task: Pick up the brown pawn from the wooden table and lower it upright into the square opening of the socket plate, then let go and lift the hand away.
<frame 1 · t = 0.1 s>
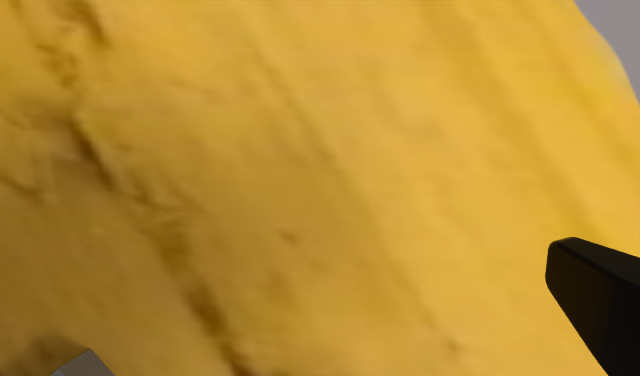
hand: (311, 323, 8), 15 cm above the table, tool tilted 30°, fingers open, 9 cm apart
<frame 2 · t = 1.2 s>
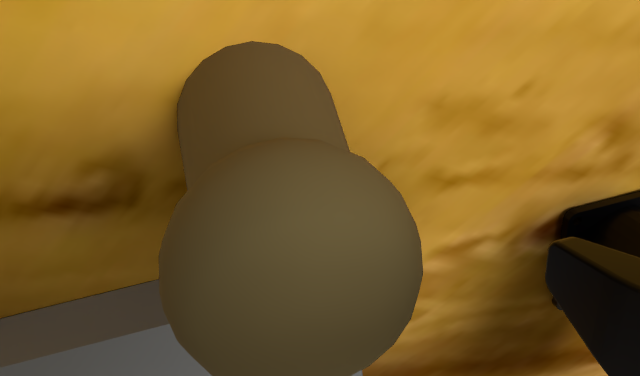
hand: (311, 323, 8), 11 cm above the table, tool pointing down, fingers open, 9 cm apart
brown pawn: (257, 121, 17), on the table
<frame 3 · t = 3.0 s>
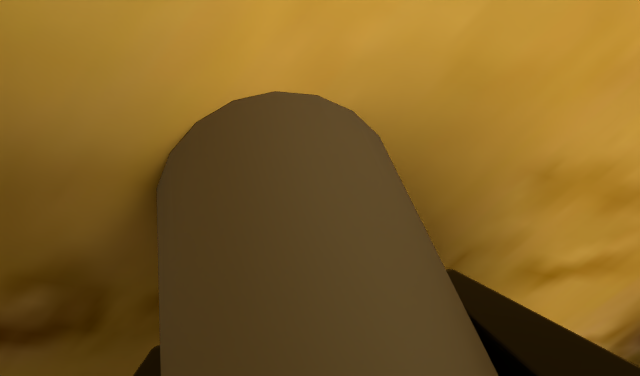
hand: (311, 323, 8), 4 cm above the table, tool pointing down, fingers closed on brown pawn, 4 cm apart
brown pawn: (281, 206, 11), on the table, touching gripper
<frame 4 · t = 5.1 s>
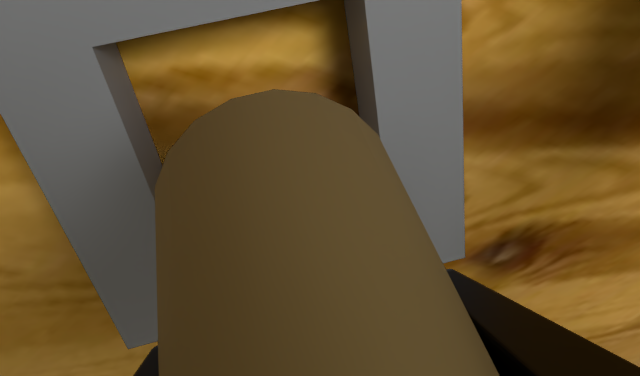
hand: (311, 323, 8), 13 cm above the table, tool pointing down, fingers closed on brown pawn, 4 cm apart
brown pawn: (279, 204, 11), point 9 cm above the table, touching gripper
socket plate: (257, 118, 19), on the table
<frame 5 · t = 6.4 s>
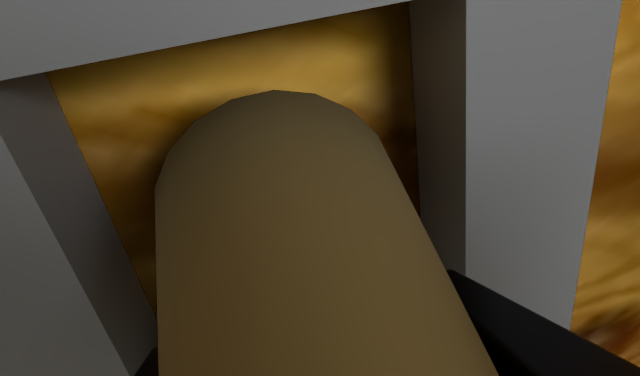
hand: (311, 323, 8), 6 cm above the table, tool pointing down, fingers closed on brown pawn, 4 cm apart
brown pawn: (279, 205, 11), point 2 cm above the table, touching gripper
socket plate: (269, 180, 13), on the table
when the fingers open (5 cm above the table, at t = 7.4 s): brown pawn stays where it is, resting in socket plate.
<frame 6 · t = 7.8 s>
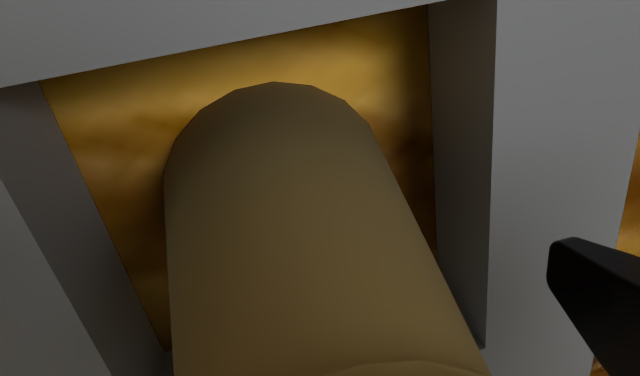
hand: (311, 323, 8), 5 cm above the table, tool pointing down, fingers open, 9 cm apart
brown pawn: (278, 189, 12), resting in socket plate
socket plate: (277, 193, 12), on the table
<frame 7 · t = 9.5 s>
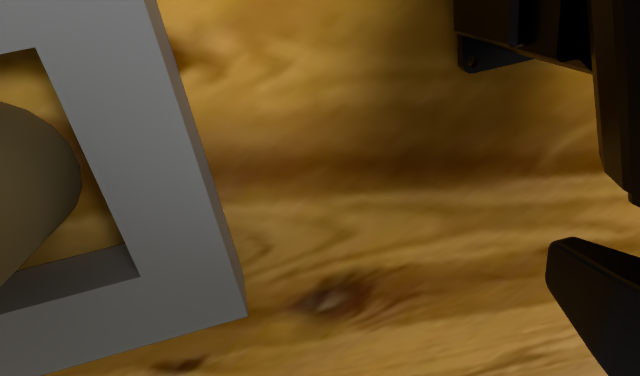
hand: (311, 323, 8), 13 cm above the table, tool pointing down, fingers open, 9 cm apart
brown pawn: (0, 171, 18), resting in socket plate
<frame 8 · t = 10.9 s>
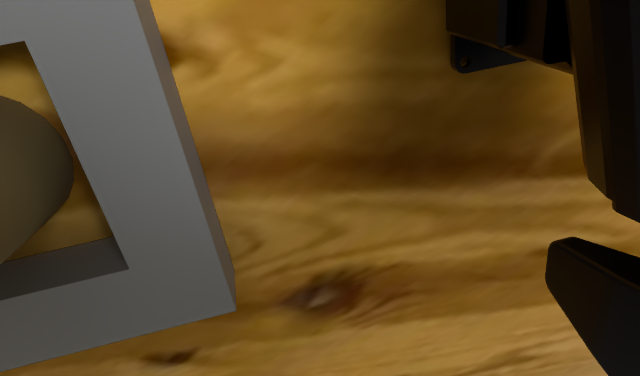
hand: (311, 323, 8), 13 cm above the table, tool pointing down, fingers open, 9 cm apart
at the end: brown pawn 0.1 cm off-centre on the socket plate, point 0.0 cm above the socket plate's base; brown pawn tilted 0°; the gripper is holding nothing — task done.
